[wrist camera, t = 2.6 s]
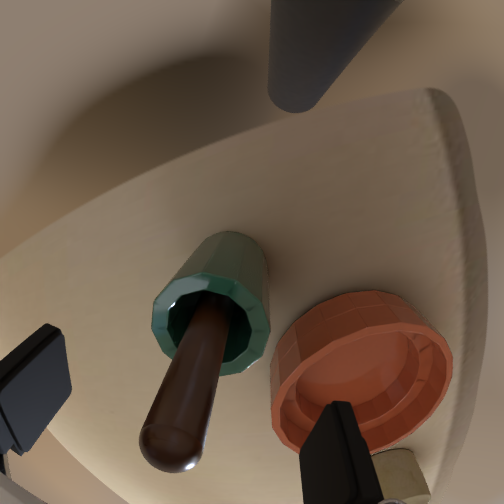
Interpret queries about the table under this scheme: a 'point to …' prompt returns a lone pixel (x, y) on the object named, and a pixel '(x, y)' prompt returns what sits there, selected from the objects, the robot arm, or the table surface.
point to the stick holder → (223, 282)
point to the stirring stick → (188, 390)
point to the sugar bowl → (401, 476)
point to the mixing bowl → (359, 368)
